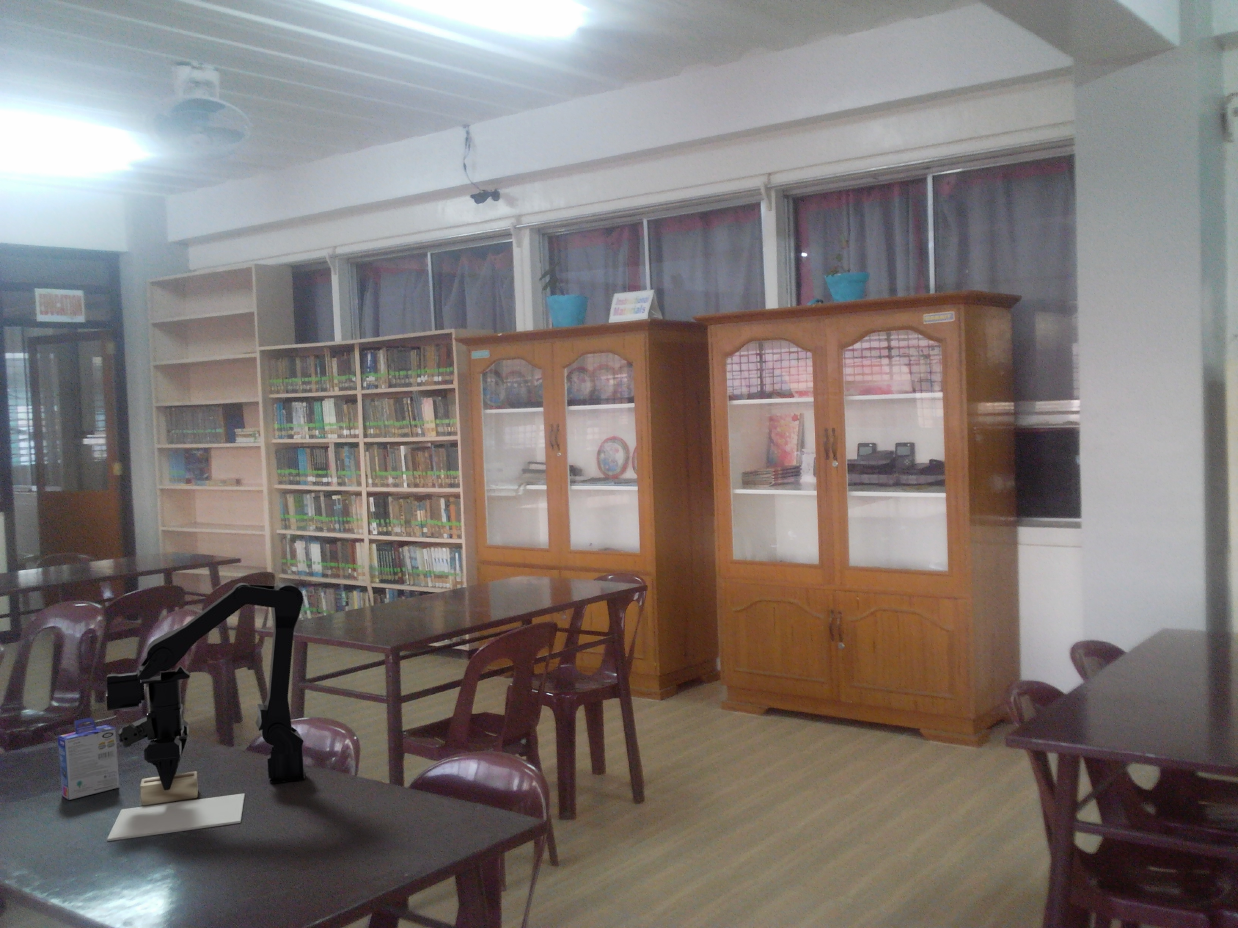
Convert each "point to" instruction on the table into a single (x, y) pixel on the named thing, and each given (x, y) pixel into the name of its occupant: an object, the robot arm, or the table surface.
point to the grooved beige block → (180, 789)
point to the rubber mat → (177, 817)
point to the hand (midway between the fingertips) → (169, 782)
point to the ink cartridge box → (88, 760)
